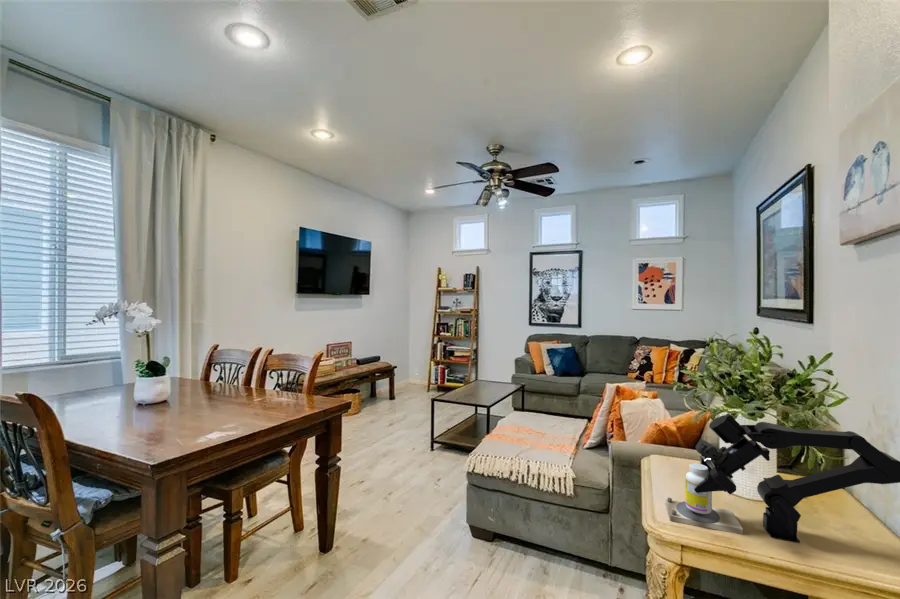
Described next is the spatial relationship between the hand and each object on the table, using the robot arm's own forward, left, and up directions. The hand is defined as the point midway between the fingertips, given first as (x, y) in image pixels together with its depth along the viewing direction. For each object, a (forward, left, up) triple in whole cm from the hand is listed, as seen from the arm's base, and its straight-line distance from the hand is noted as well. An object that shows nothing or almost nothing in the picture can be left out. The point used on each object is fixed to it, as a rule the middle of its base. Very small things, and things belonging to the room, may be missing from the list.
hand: (693, 485), depth 119 cm
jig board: (-2, 0, -9) cm, 10 cm away
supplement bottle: (-1, 0, -7) cm, 7 cm away
